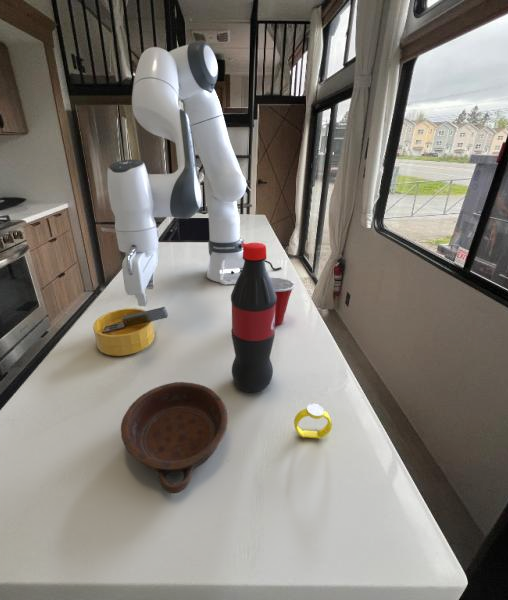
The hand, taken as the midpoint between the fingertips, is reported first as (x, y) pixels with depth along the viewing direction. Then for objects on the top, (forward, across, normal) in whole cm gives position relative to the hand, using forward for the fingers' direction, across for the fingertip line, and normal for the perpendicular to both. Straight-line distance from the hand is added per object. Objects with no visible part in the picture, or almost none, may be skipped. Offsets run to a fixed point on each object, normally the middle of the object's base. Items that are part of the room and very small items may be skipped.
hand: (147, 295), depth 78 cm
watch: (+14, -32, -32) cm, 47 cm away
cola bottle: (+13, -17, -24) cm, 32 cm away
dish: (+13, -31, -9) cm, 35 cm away
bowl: (+13, 0, +7) cm, 15 cm away
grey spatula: (+8, 0, +4) cm, 9 cm away
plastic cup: (+14, +8, -32) cm, 36 cm away
